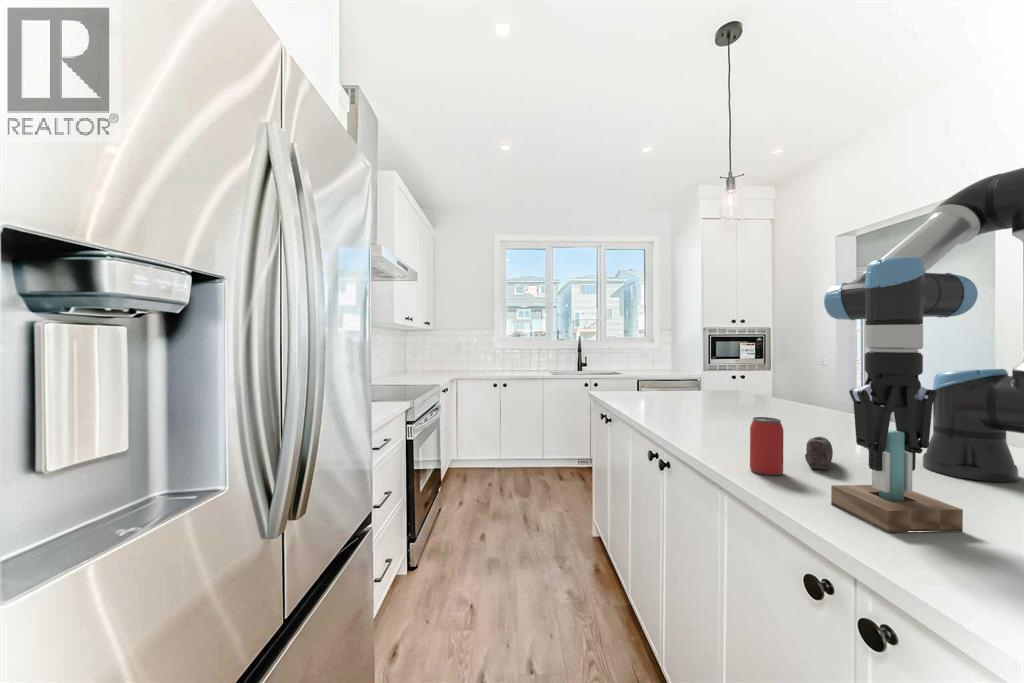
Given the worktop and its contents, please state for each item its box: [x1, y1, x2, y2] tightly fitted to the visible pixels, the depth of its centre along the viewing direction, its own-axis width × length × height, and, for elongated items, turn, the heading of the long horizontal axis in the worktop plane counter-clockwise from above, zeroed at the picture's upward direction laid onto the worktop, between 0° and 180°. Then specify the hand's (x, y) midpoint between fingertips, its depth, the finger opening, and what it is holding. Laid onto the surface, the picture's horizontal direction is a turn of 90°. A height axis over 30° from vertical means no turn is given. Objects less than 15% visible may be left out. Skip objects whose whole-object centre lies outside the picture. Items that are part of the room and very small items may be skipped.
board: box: [830, 484, 964, 533], centre depth 77 cm, size 12×12×4 cm
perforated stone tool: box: [804, 436, 834, 470], centre depth 108 cm, size 15×5×7 cm, turn 141°
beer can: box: [749, 416, 784, 477], centre depth 103 cm, size 7×7×12 cm
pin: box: [879, 429, 905, 502], centre depth 77 cm, size 3×3×14 cm
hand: (891, 489), depth 77 cm, fingers closed on pin, 3 cm apart
